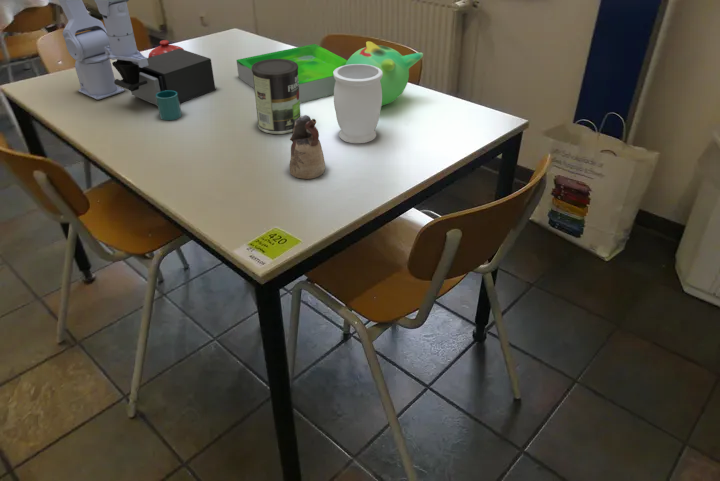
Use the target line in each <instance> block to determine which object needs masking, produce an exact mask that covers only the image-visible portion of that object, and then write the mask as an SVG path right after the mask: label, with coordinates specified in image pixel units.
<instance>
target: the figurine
mask: <svg viewBox="0 0 720 481" xmlns="http://www.w3.org/2000/svg"><path fill="white" fill-rule="evenodd" d="M300 116H301V117H300V118H298V119H297V120H296V121H295V125H294V128H293V132H292V135H291V137H290V138H289V140H290V142H292V143H291V145H290V160H289V173H290V175H291V176H293V177H295V178H298V179H302V180H311V179H315V178H318V177H320V176H322V175H323V174H324V173H325V170H326V162H325V156H324V151H323V148H322V144H321V141H320V139H319V137H320V134H319V133H320V132H319V129H318V128H317V126H316V124H317V119H316V118H311V116H310V115H307V114H305V115H300Z"/></svg>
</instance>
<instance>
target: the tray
mask: <svg viewBox="0 0 720 481" xmlns="http://www.w3.org/2000/svg"><path fill="white" fill-rule="evenodd" d="M268 59H286V60H291V61H294V62H296V63H297V64H298V81H299V99H300V104H302V103H306V102H310V101H314V100H317V99H321V98H325V97H329V96H334V87H335V82H336V80H335V78H334V76H333V72H334V70H335V69H336V68H338V67H341V66H344V65H345V64H346V62H347V61H348V59H345V58H343V57H342V56H340V55H337V54H336V53H334V52H332V51H330V50H328V49H326V48H325V47H322V46H320V45H318V44H316V43H312V44H308V45H302V46H298V47H293V48H288V49H283V50H278V51H274V52H269V53H268V52H267V53H263V54H257V55H254V56H249V57H248V56H247V57H244V58H238V59H236V67H237V74H238V75H237V76H238V78H239V79H240V80H242V81H243V82H244V83H245V84H247V85H249V86H250V88H252V89H254V82H253V72H252V69H251V67H252V65H253V64H255V63H257V62H259V61H262V60H268Z"/></svg>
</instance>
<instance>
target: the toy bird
mask: <svg viewBox="0 0 720 481" xmlns="http://www.w3.org/2000/svg"><path fill="white" fill-rule="evenodd" d="M423 57H424V53H423V52H414V53H409V54H406V55H402V54H401V53H400V52H399V51H398V50H396V49H394V48H392V47H390V46H386V45H379V44H378V45H377V44H376V43H375V42H373V41H371V40H367V41H366V42H365V47H362V48H360V49H358V50H356V51H355V52H354V53H353V54H351V55H350V56H349V57H348V59H347V62H346V64H345V65H350V64H366V65H372V66H375V67H378V68H379V69H381V70H382V74H383V76H382V78H381V80H380V82H381V88H382V105H381V107H382V106H386V105H388V104H391V103H392V102H394V101H395V100H396V99H398V98H399V97H400V96H401V95H402V94H403V92H404V91H405V89H406V88H407V85H408V82H409V79H410V69H411V67H413V66H414V65H416V63H418V62H419V61H420V60H422V58H423Z"/></svg>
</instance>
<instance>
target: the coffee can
mask: <svg viewBox="0 0 720 481" xmlns="http://www.w3.org/2000/svg"><path fill="white" fill-rule="evenodd" d="M251 69H252V72H253V82H254V88H253V90H254V100H255V109H256V117H257V128H258V129H259V130H260V131H262V132H263V133H266V134H272V135H284V134H285V135H286V134H290V133H293V128H294V125H295V121H296V120H297V119H298V118H300V117H301V116H302V115H301V103H300V99H299V81H298V64H297V63H296V62H294V61H291V60H286V59H268V60H262V61H259V62H257V63H255V64H253V65H252V67H251Z"/></svg>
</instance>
